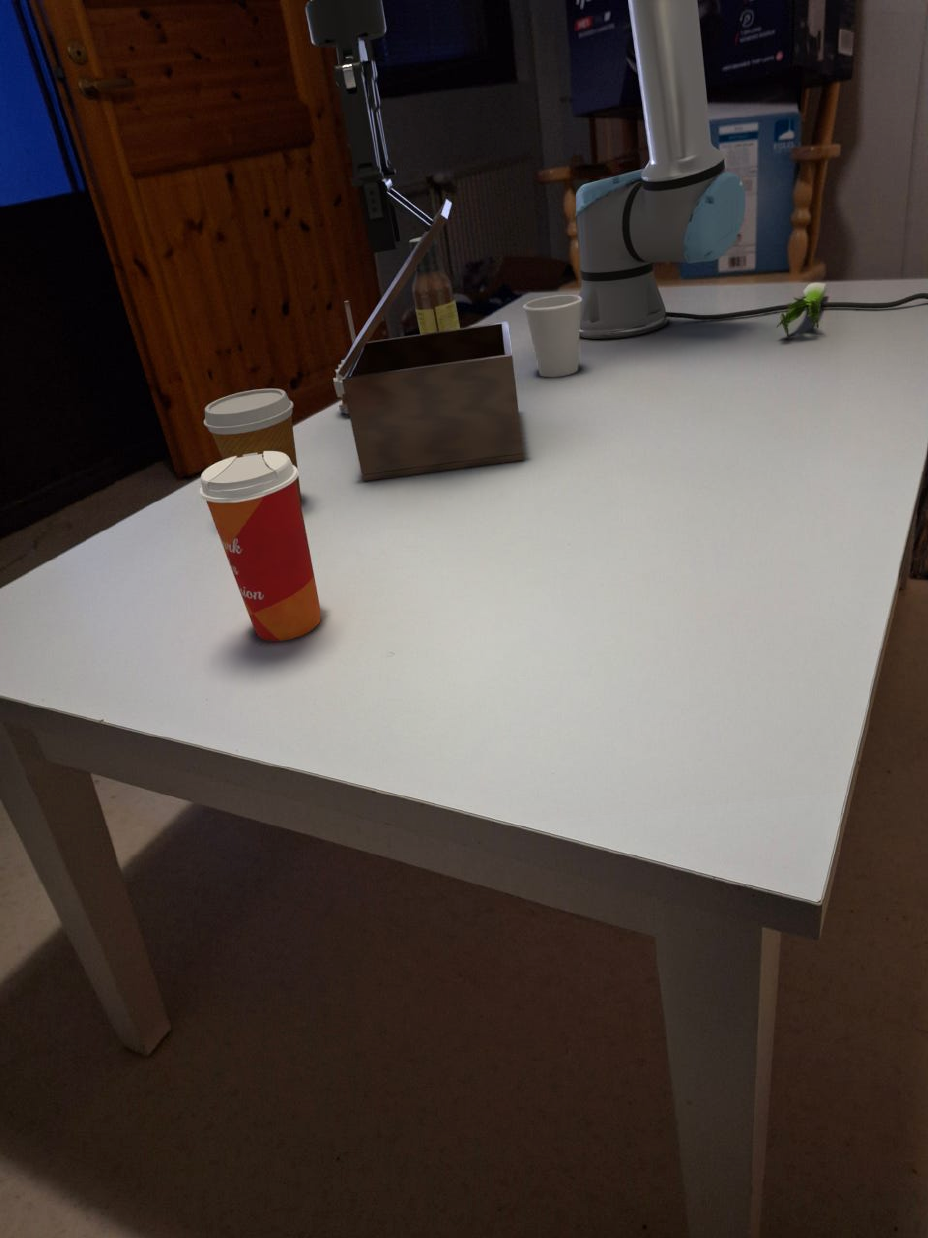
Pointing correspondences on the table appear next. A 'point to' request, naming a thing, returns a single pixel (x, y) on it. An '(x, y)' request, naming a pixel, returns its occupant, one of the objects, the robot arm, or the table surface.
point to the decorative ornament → (338, 379)
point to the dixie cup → (555, 333)
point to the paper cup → (265, 541)
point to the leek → (805, 305)
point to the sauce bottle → (433, 293)
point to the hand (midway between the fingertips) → (386, 246)
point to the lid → (413, 260)
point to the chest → (434, 402)
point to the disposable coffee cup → (253, 424)
